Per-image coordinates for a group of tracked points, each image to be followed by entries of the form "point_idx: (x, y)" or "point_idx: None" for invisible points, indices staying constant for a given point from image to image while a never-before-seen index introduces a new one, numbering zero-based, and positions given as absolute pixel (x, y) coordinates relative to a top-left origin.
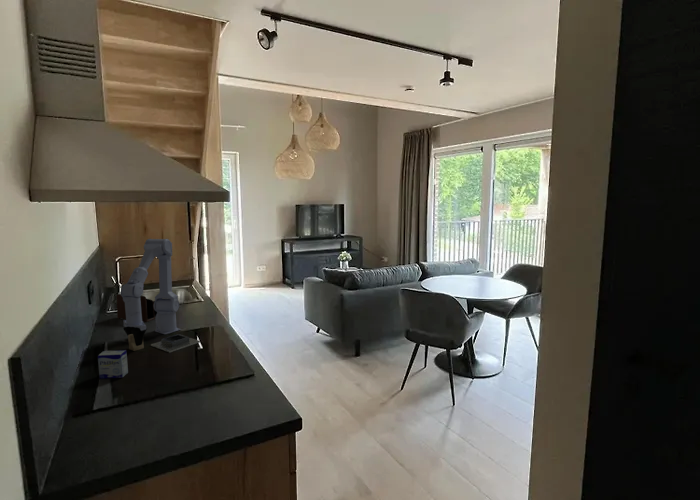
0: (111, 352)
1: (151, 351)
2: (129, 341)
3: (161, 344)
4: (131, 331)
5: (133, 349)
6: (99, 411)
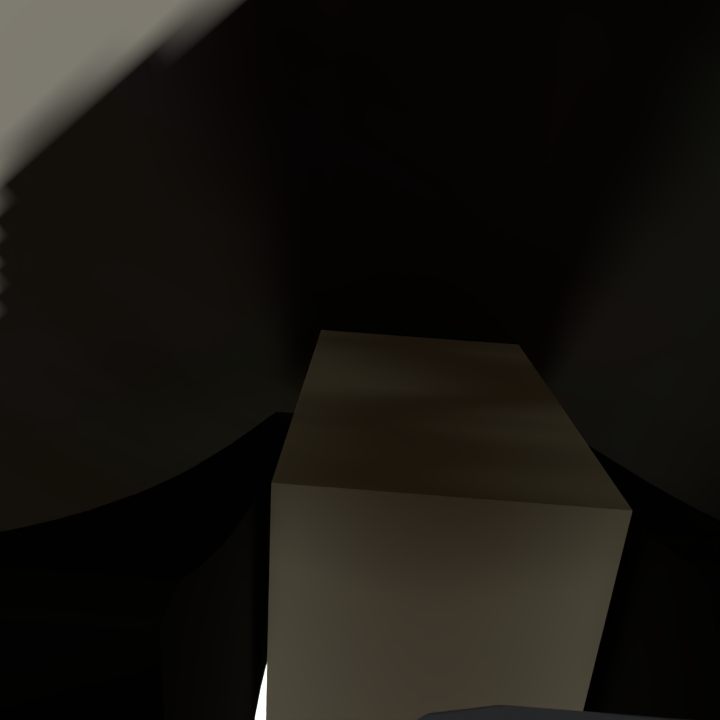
0: None
1: (22, 465)
2: (517, 410)
3: None
4: (90, 573)
5: (340, 339)
6: None
